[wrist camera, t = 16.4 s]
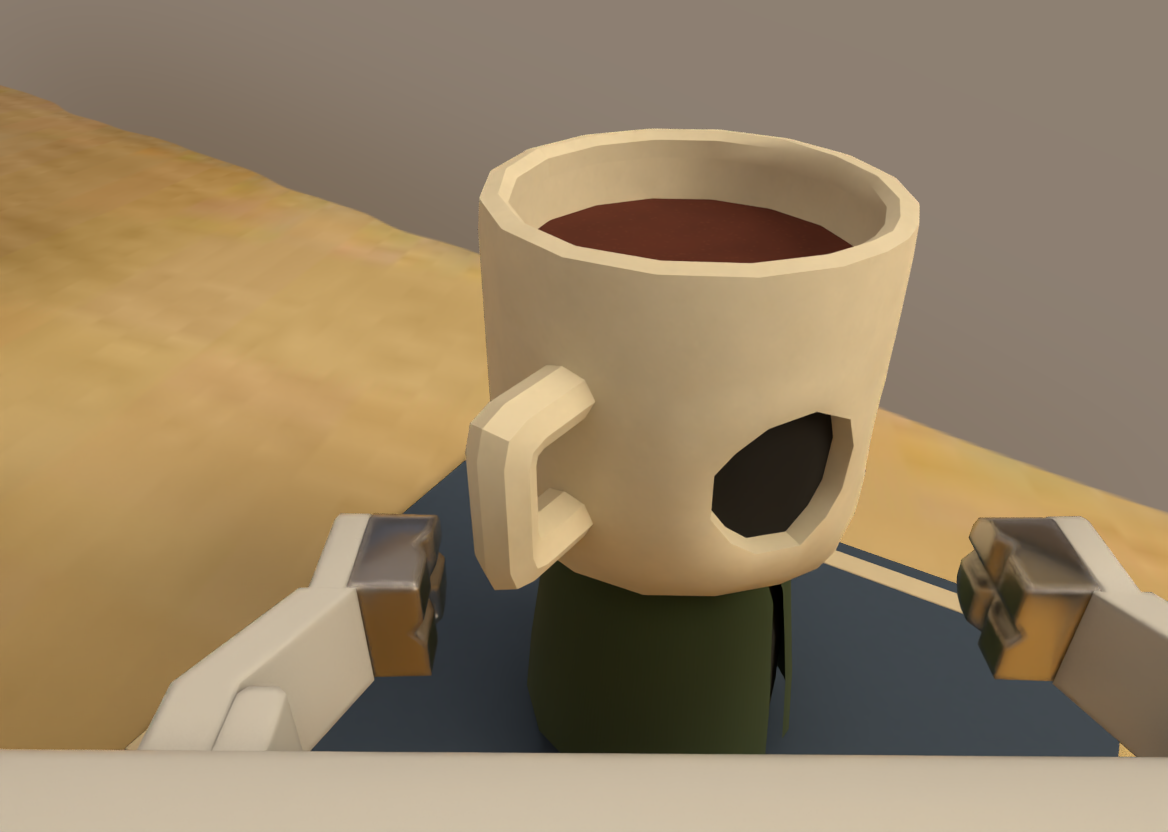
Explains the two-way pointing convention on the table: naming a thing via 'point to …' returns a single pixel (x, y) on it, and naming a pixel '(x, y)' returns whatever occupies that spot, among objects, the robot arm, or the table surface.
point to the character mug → (676, 415)
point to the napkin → (819, 678)
